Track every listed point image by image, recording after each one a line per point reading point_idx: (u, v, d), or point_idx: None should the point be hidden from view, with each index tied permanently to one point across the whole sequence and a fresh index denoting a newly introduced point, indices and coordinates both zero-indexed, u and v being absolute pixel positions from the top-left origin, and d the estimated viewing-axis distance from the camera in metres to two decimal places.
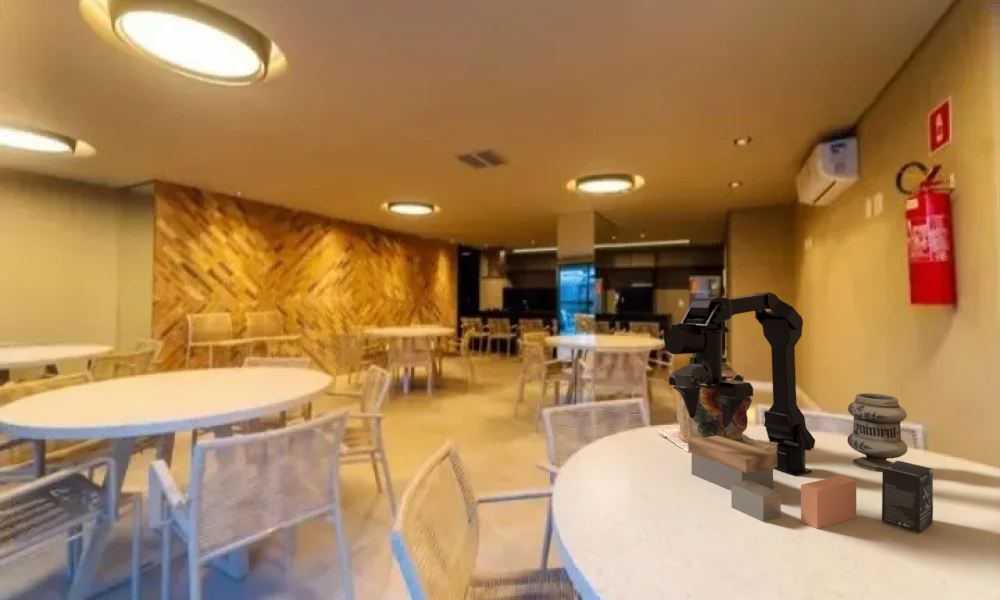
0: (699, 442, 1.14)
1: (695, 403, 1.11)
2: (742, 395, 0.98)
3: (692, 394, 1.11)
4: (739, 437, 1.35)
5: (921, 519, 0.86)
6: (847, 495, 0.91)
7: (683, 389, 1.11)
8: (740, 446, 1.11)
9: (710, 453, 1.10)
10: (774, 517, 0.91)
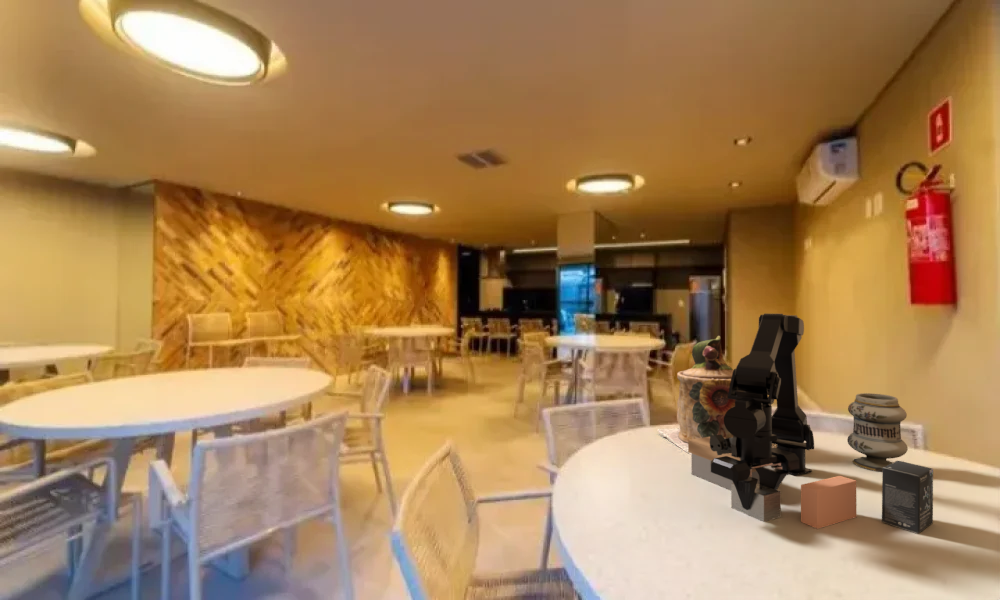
0: (699, 442, 1.14)
1: None
2: (718, 473, 0.91)
3: (767, 478, 0.95)
4: None
5: (921, 519, 0.86)
6: (847, 495, 0.91)
7: None
8: None
9: (710, 453, 1.10)
10: (774, 516, 0.91)
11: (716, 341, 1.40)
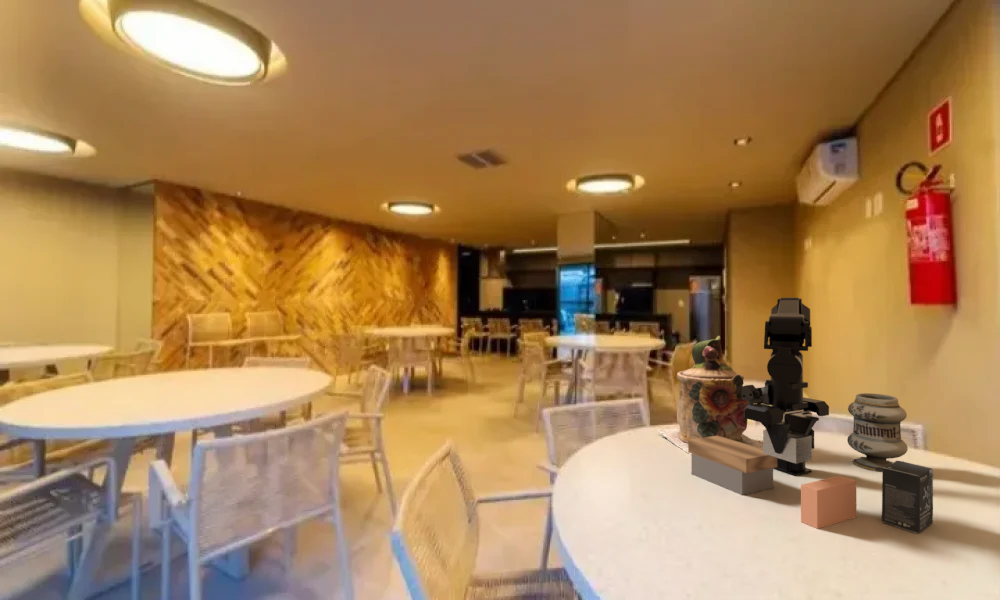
0: (699, 442, 1.14)
1: None
2: (752, 418, 0.95)
3: (798, 424, 0.99)
4: (739, 437, 1.35)
5: (921, 519, 0.86)
6: (847, 495, 0.91)
7: (786, 415, 1.02)
8: (740, 446, 1.11)
9: (710, 453, 1.10)
10: (806, 459, 0.95)
11: (716, 341, 1.40)
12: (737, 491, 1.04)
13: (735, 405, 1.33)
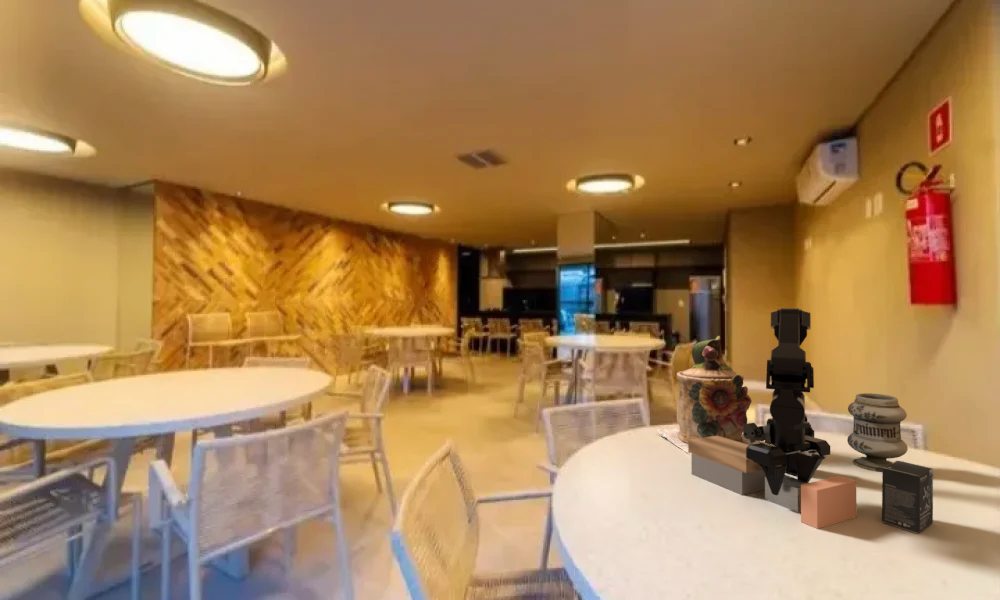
0: (699, 442, 1.14)
1: (807, 474, 0.99)
2: (754, 459, 0.95)
3: (804, 463, 1.00)
4: (739, 438, 1.34)
5: (921, 519, 0.86)
6: (847, 495, 0.91)
7: (793, 453, 1.02)
8: (740, 446, 1.11)
9: (710, 453, 1.10)
10: None
11: (716, 341, 1.40)
12: (737, 491, 1.04)
13: (735, 405, 1.33)
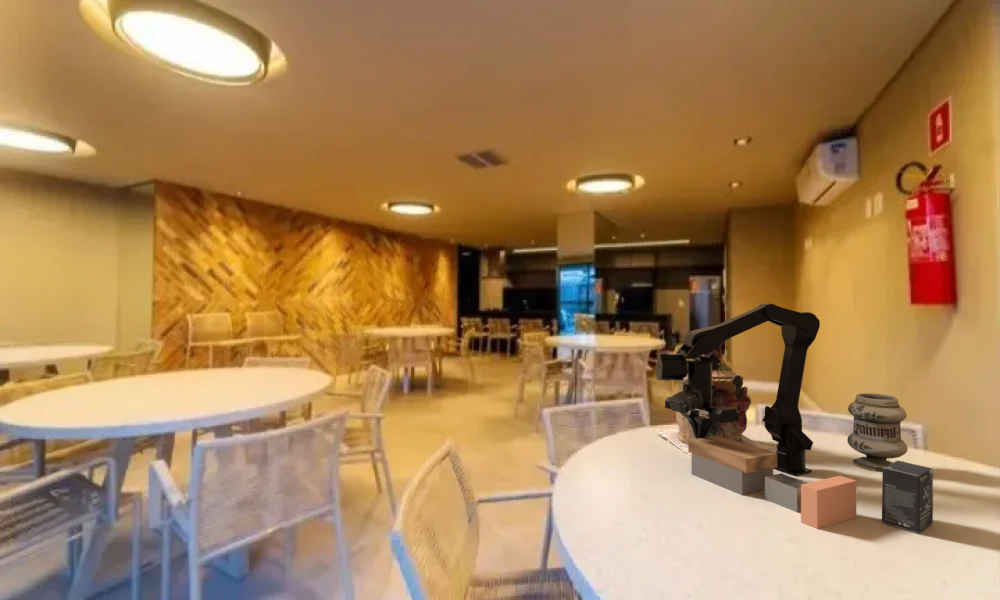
0: (699, 442, 1.14)
1: None
2: (729, 420, 1.11)
3: None
4: (738, 438, 1.34)
5: (921, 519, 0.86)
6: (847, 495, 0.91)
7: (691, 416, 1.19)
8: (740, 446, 1.11)
9: (710, 453, 1.10)
10: None
11: None
12: (737, 491, 1.04)
13: (735, 405, 1.33)
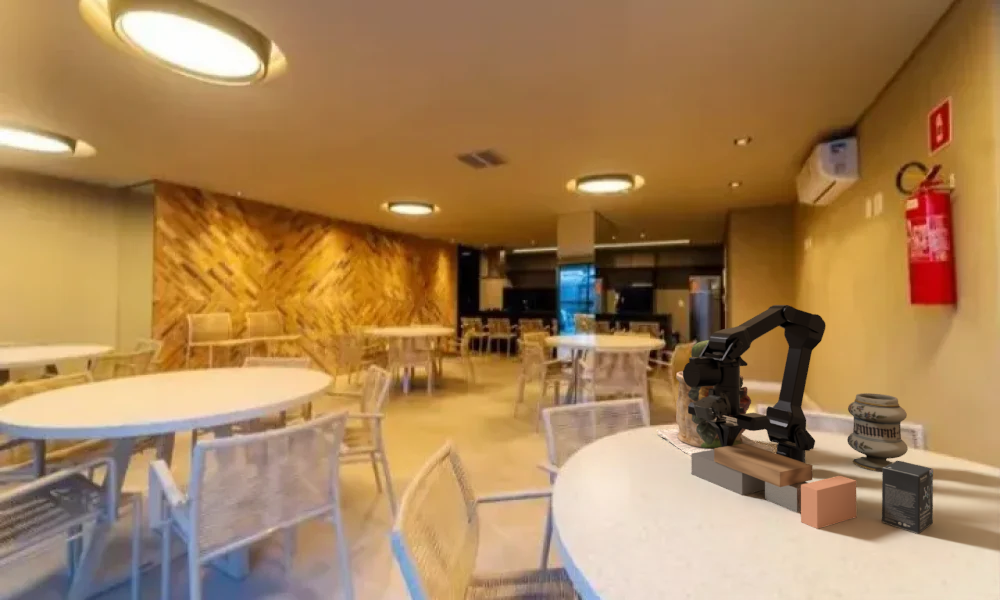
0: (726, 451, 1.07)
1: None
2: (760, 428, 1.03)
3: None
4: (738, 438, 1.34)
5: (921, 519, 0.86)
6: (847, 495, 0.91)
7: (717, 423, 1.12)
8: (771, 456, 1.04)
9: (739, 463, 1.03)
10: None
11: None
12: (737, 491, 1.04)
13: None
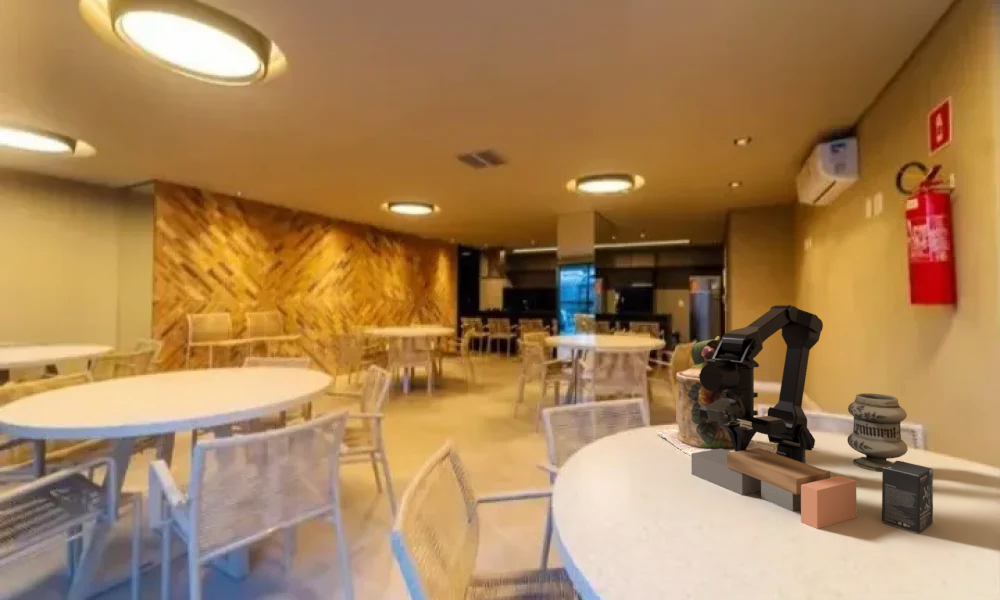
0: (740, 456, 1.04)
1: None
2: (776, 432, 1.00)
3: None
4: None
5: (921, 519, 0.86)
6: (847, 495, 0.91)
7: (730, 426, 1.09)
8: (786, 462, 1.00)
9: (753, 469, 1.00)
10: None
11: (715, 341, 1.39)
12: (737, 491, 1.04)
13: None
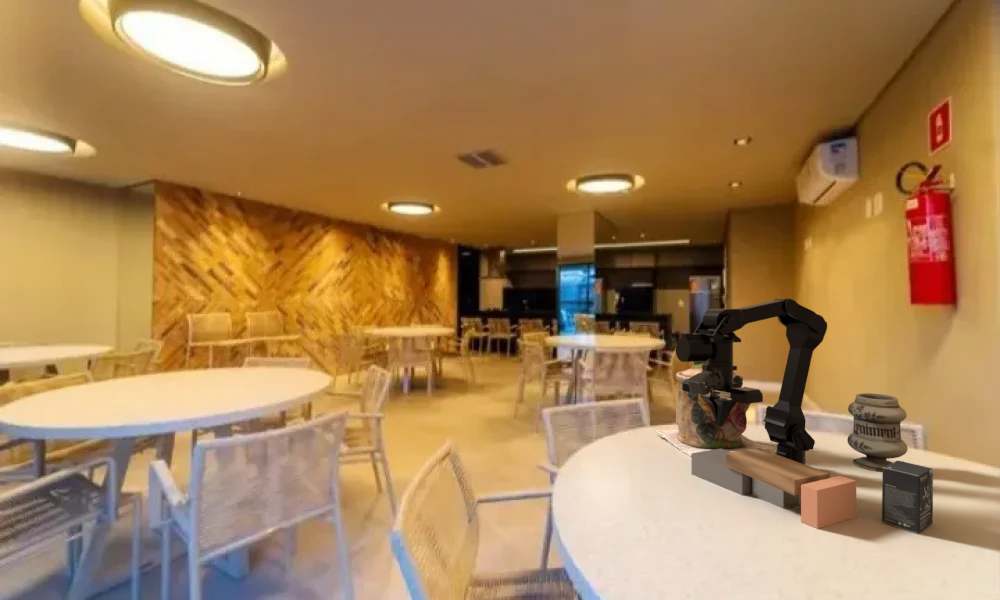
0: (739, 456, 1.03)
1: None
2: (752, 401, 1.05)
3: None
4: (738, 438, 1.34)
5: (921, 519, 0.86)
6: (847, 495, 0.91)
7: (710, 398, 1.14)
8: (786, 463, 1.00)
9: (752, 469, 0.99)
10: (793, 504, 0.97)
11: None
12: (737, 491, 1.04)
13: (734, 406, 1.32)
